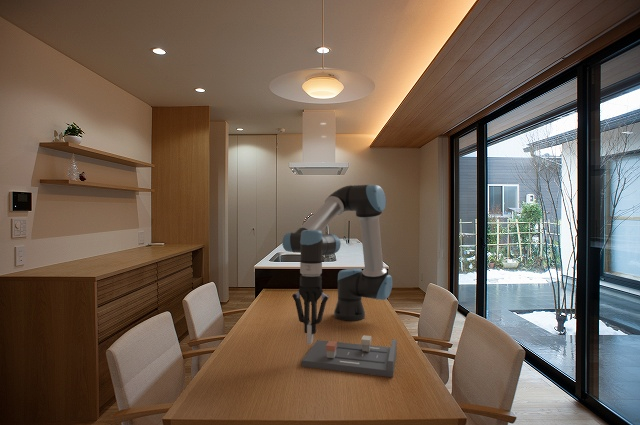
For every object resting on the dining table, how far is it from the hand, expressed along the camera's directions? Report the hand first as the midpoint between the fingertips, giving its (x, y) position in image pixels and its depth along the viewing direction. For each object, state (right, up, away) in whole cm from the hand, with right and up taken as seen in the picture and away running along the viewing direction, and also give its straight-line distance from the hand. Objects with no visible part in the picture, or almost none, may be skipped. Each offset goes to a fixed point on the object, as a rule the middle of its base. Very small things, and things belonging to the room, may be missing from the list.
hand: (310, 342), depth 129 cm
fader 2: (+20, -4, +4) cm, 21 cm away
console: (+14, -6, +1) cm, 16 cm away
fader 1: (+7, -4, -2) cm, 9 cm away
